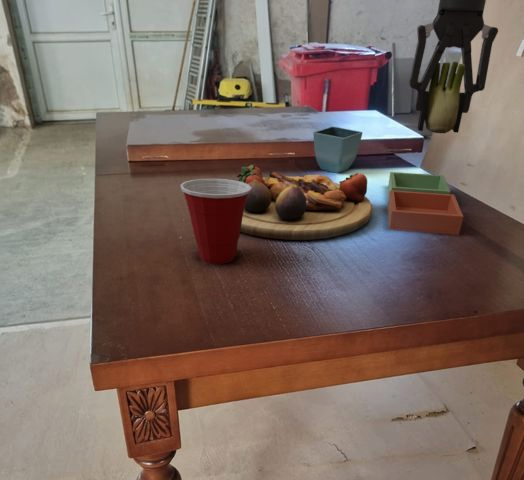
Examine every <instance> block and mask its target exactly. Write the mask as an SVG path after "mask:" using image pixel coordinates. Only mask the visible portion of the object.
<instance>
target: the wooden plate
mask: <svg viewBox="0 0 524 480" xmlns="http://www.w3.org/2000/svg"><path fill="white" fill-rule="evenodd" d="M240 169H241V172H239V173H238V175H236V178H237V179H238V180H237V181H240V182H243V183H246V184H249V185H250V186H251V187H252V188H251V191H250V192H249V194H248V196H247V200H246V203H245V207H244V212H243V218H242V224H241V230H240V233H243V234H247V235H250V236H255V237H261V238H267V239H277V240H278V239H279V240H288V241H289V240H290V241H293V240H294V241H298V240H299V241H305V240H306V241H307V240H321V239H327V238H333V237H338V236H342V235H346V234H349V233H352V232H354V231H356V230H358V229H360V228H362V227H363V226H365V225H366V224H367V223H368V222H369V221H370V219H371V217H372V216H373V210H374V209H373V204H372V203H371V201H370V199H369V198H368V197H367V196H366V194H367V191H368V178H367V176H366V175H365V174H364V173H358V172H356V173H355V174H349V176H347V177H345V179H343V180H341V181H339V183H338V182H334V181H333V180H332V179H331V178H330V177H329V176H328V175H322V174H320V173H318V174H307V175H304V176H299V175H297V176H296V175H295V176H291V175H284V174H281V173H279V172H277V171H270V172H269V176H266V177H263V172H262V170H261V169H260V168H259V166H258V164H253V163H252V164H250V165H248V166H241V167H240Z"/></svg>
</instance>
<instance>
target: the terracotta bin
mask: <svg viewBox="0 0 524 480" xmlns="http://www.w3.org/2000/svg"><path fill="white" fill-rule="evenodd" d="M387 200H388V201H387V205H386V209H387V221H388V230H391V231H392V230H393V231H404V232H405V231H406V232H414V233H415V232H417V233H429V234H442V235H454V236H460V232H461V228H462V224H463V220H464V215H463V211H462V209H461V208H460V206H459V202H458V201H457V198H456V195H455V194H452V193H450V194H437V193H423V192H408V191H394V190H390V193H389V194H388V199H387Z"/></svg>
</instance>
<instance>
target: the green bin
mask: <svg viewBox="0 0 524 480" xmlns="http://www.w3.org/2000/svg"><path fill="white" fill-rule="evenodd" d="M390 190H394V191H408V192H423V193H437V194H451V190H450V187H449V184H448V182H447V180H446V177H445V175H444V174H429V173H428V174H427V173H413V172H395V171H390V172H389V178H388V185H387V191H388V195H389V193H390Z"/></svg>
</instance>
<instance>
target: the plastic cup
mask: <svg viewBox="0 0 524 480" xmlns="http://www.w3.org/2000/svg"><path fill="white" fill-rule="evenodd" d="M179 186H180V189H181V192H183V194H184V199H185V202H186V204H187V209H188V213H189V217H190V223H191V227H192V231H193V235H194V239H195V242H196V246H197V250H198V251H197V252H198V255H199V257H200V260H202V262H204V263H208V264H210V265H211V264H213V265H222V264H227V263H230V262H232V261H233V260H234V259H235V258H236V255H237V252H238V251H237V250H238V244H239V240H240V235H241V232H240V230H241V224H242V218H243V212H244V207H245V203H246V200H247V196H248V194H249V192H250V191H251V188H252V187H251V186H250V185H249V184H246V183H243V182H240V181H238V180H234V179H226V178H197V179H191V180H187V181H183V182H182V183H181V184H180V185H179Z"/></svg>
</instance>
